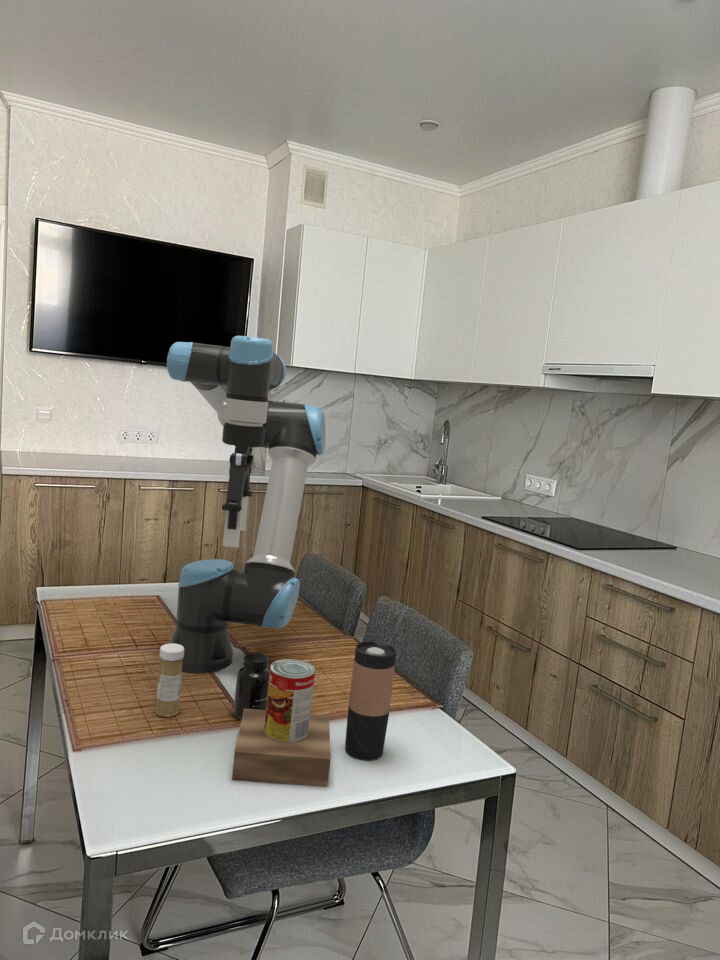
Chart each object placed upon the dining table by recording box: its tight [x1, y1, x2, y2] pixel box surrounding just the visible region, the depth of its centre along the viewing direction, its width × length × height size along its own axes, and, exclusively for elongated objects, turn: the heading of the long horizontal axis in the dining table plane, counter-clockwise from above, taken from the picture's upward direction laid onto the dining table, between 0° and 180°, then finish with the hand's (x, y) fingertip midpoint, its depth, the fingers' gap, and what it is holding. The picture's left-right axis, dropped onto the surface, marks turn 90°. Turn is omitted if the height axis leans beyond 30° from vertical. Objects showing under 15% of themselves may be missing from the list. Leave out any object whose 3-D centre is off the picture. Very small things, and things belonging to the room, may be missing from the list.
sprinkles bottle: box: [154, 643, 184, 718], centre depth 143 cm, size 5×5×13 cm
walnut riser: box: [231, 709, 332, 787], centre depth 132 cm, size 16×16×5 cm
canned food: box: [264, 658, 316, 743], centre depth 131 cm, size 8×8×12 cm
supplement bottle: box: [232, 652, 270, 720], centre depth 147 cm, size 7×7×12 cm
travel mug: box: [344, 640, 397, 761], centre depth 137 cm, size 8×8×20 cm
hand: (234, 537), depth 137 cm, fingers open, 13 cm apart
